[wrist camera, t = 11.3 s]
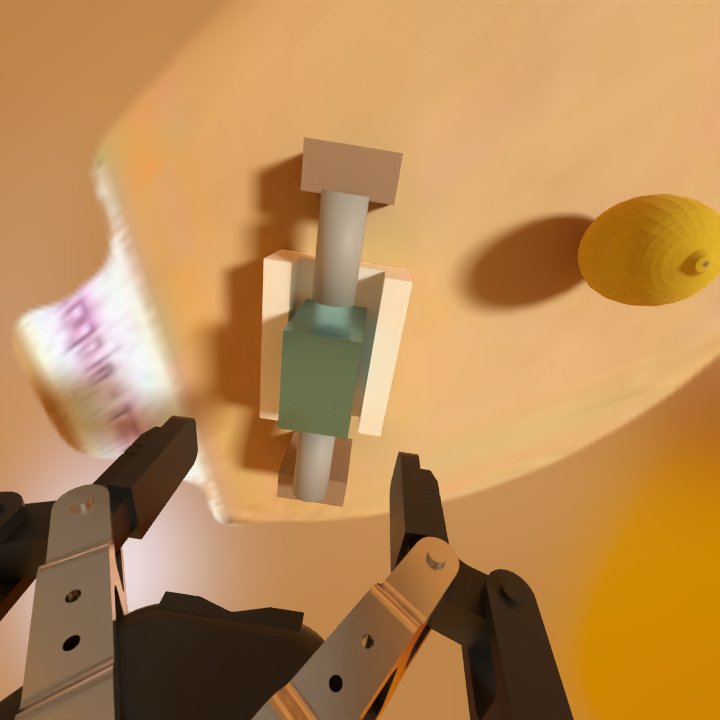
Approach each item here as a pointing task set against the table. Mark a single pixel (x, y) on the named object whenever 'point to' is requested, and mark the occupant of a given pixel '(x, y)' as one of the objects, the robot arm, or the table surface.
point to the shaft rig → (335, 289)
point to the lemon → (651, 250)
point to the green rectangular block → (320, 368)
